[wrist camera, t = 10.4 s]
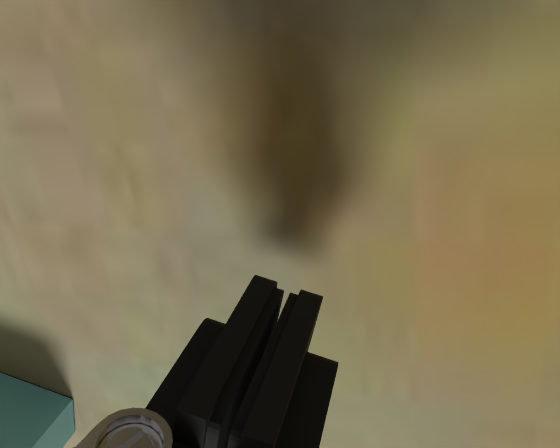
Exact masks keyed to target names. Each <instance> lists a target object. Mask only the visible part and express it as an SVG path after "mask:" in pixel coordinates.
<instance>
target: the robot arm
mask: <svg viewBox="0 0 560 448" xmlns="http://www.w3.org/2000/svg"><path fill="white" fill-rule="evenodd" d="M283 294H284V290H281V289H278V288H277V282H276V281H273V280H270V279H267V278H263V277H260V276H257V275H255V276H254V277H253V278H252V280H251V282H250V284H249V285H248V287H247V289H246V290H245V292H244V294H243V295H242V297H241V299H240V301H239V302H238V304H237V306H236V307H235V309H234V311H233V312H232V314H231V316H230V318H229V319H228V321H227V323H226V324H224V323H221V322H218V321H215V320H212V319H209V318H206V319H205V320H204V321H203V322H202V323H201V325H200V326H199V328H198V329H197V331H196V332H195V334H194V335H193V337H192V338H191V340H190V341H189V343H188V344H187V346H186V347H185V349H184V350H183V352H182V353H181V355H180V357H179V358H178V360H177V361H176V363H175V364H174V366H173V367H172V369H171V370H170V372H169V373H168V375H167V376H166V378H165V379H164V381H163V382H162V384H161V385H160V387H159V388H158V390H157V391H156V393H155V394H154V396H153V397H152V399H151V400H150V402H149V404H148V405H147V407H146V408H129V409H123V410H119V411H117V412H115V413H113V414H111V415H108V416H107V417H106V418H105V419H103V420H102V421H101V422H99V423H98V424H97V425H96V426H95V427H94V428H93V429H92V430H91V431H90V432H89V433H88V434H87V436H86V437H85V438H84V439H83V440H82V441H81V442H80V443H79V444H78V445H77V446H76V447H74V448H319V445H320V441H321V437H322V432H323V428H324V424H325V419H326V415H327V411H328V407H329V402H330V398H331V394H332V389H333V385H334V381H335V377H336V372H337V368H338V362H336V361H333V360H330V359H327V358H324V357H321V356H318V355H315V354H312V353H309V352H308V349H309V345H310V341H311V338H312V334H313V331H314V327H315V324H316V320H317V317H318V313H319V310H320V306H321V303H322V299H323V296H320V295H317V294H314V293H310V292H307V291H304V290H300V293H299V295H296V294H293V293H290V294H289V297H288V299H287V301H286V303H285V306H284V308H283V310H282V312H281V315H280V317H279V319H278V316H279V312H280V307H281V303H282V298H283ZM277 321H278V322H277Z"/></svg>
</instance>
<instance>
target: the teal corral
mask: <svg viewBox="0 0 560 448" xmlns="http://www.w3.org/2000/svg"><path fill="white" fill-rule="evenodd" d="M74 432H75V425H74V411H73V399H71V398H68V397H65V396H62V395H60V394H57V393H54V392H52V391H49V390H46V389H43V388H41V387H38V386H35V385H33V384H30V383H27V382H24V381H22V380H19V379H16V378H14V377H11V376H8V375H5V374H3V373H0V448H63V446H64V445H65V444H66V443H67V441H68V440H69V439H70V437H71V436H72V435H73V434H74Z"/></svg>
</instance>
